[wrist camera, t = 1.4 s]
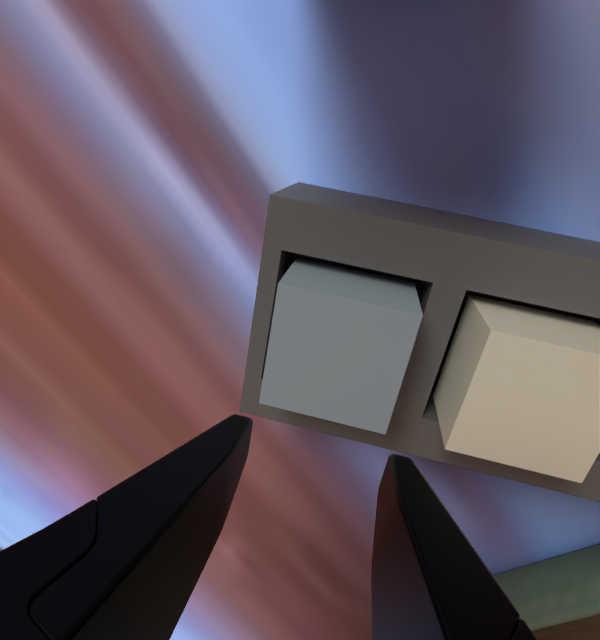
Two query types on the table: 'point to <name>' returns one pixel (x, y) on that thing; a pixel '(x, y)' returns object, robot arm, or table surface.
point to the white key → (522, 389)
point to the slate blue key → (340, 344)
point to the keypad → (421, 299)
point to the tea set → (558, 595)
